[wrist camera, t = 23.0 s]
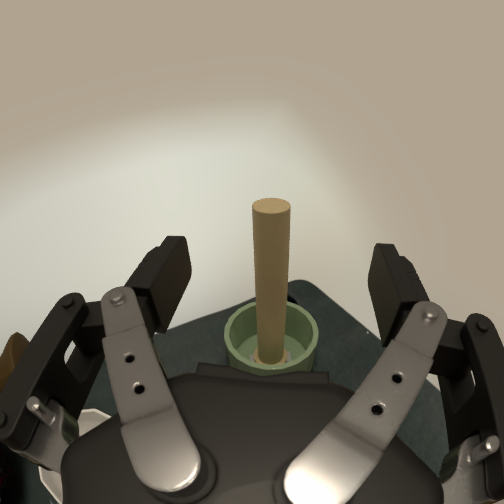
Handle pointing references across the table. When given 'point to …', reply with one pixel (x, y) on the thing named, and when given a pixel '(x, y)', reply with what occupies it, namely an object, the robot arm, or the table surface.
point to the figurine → (5, 474)
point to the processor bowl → (296, 340)
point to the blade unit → (271, 278)
